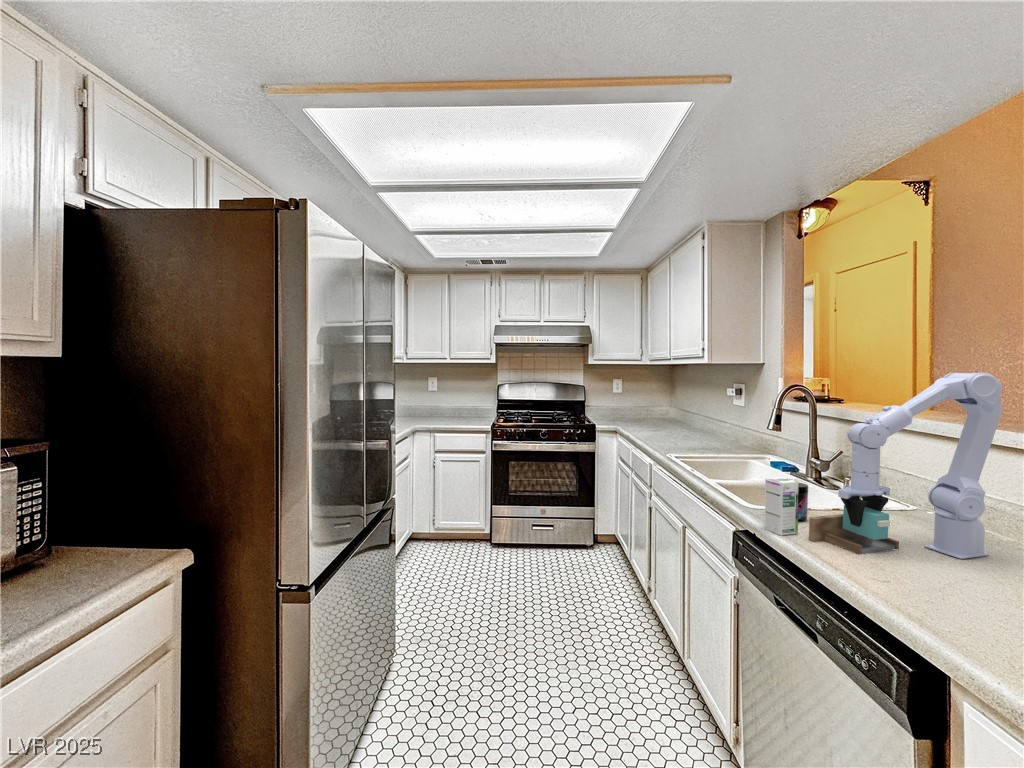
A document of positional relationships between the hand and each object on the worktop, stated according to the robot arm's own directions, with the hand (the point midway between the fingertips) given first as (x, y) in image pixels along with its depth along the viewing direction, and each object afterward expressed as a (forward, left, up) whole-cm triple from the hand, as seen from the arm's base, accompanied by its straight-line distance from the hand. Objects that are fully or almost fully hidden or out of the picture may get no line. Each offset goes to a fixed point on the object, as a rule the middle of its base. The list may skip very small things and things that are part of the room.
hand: (863, 524), depth 117 cm
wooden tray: (0, 0, -5) cm, 5 cm away
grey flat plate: (0, 0, -5) cm, 5 cm away
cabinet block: (0, 0, -2) cm, 2 cm away
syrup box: (+12, -13, -6) cm, 19 cm away
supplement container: (-1, -21, -6) cm, 22 cm away
